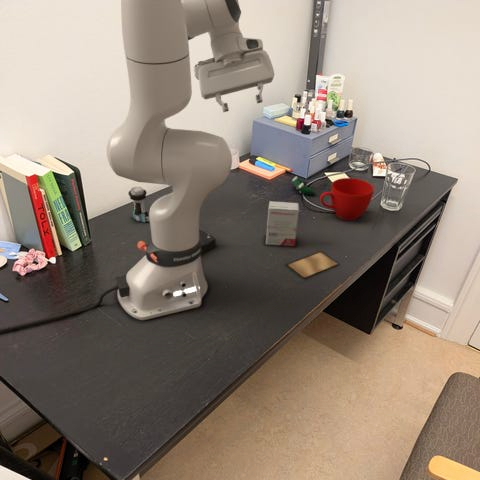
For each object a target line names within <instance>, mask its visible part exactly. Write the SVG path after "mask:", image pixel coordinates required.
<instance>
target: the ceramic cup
mask: <svg viewBox="0 0 480 480" xmlns="http://www.w3.org/2000/svg"><path fill="white" fill-rule="evenodd" d="M374 190H375V188H374V186H373V185H372V184H371V183H370V182H368V181H366V180H363V179H359V178H354V177H342V178H338V179H336V180H334V181H333V182H332V184H331V190H330V191H324V192H323V193H322V194H321V195H320V198H319V200H320V203H321V204H322V206H323V207H326V208H328V209H332V210H333V211H334V213H335V215H336V216H337V217H338V218H339V219H341V220H344V221H354V220H356V219H357V218H359V217H361V216H362V215H363V214H364V213H365V212H366V210H367V209H368V207H369V206H370V203H371V201H372V199H373V195H374V192H375V191H374ZM328 195H329V196H330V202H331V204H327V203H326V202H325V201H324V197H325V196H328Z"/></svg>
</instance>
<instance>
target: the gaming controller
mask: <svg viewBox="0 0 480 480" xmlns="http://www.w3.org/2000/svg"><path fill="white" fill-rule="evenodd" d="M291 183H292V184H293V185H294V186H295V189H296V190H298V192H299V193H300V194H304V195H308V196H315V190H314V189H313V188H312V187H308V186H306V185H307V182H306V181H305V180H303V179H300V178H299V177H298V176H297V175H296V176H295V177H294V178H293V179H291Z"/></svg>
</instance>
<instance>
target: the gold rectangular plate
mask: <svg viewBox="0 0 480 480" xmlns="http://www.w3.org/2000/svg"><path fill="white" fill-rule="evenodd" d="M337 265H338V263H337V262H335V261H334V260H333V259H331V258H329V257H328V256H327V255H326V254H324V253H322V252H321V251H319V252H318V253H317V252H316V253H314V254H313V255H310V256H307V257H305V258H302V259H299V260H297V261H294V262H291V263H289V264H287V266H288V267H289V268H290V269H292V270H293V271H295V272H296V274H298V275H299V276H301V277H303V279H306V278H308V277H311V276H314V275H316V274H318V273H321V272H323V271H326V270H329V269H331V268H333V267H335V266H337Z"/></svg>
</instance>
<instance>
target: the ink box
mask: <svg viewBox="0 0 480 480" xmlns="http://www.w3.org/2000/svg"><path fill="white" fill-rule="evenodd" d="M267 208H268V209H267V221H266V225H267V226H266V236H265V245H267V246H281V247H282V246H283V247H295V246H296V240H297V231H298V223H299V213H300V205H299V203H298V202H287V201H273V200H270V201H268V207H267Z"/></svg>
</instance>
